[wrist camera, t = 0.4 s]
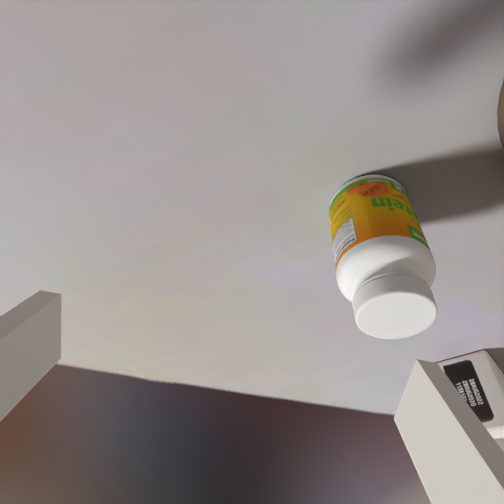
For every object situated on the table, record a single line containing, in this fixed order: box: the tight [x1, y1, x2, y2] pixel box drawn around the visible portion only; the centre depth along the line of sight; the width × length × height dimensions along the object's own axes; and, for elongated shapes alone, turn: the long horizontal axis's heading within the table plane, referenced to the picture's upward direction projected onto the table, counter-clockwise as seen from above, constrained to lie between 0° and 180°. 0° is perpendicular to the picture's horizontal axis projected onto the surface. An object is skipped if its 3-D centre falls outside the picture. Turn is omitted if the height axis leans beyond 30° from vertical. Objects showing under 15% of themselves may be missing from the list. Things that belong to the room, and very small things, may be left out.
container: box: [437, 350, 504, 452], centre depth 35 cm, size 8×8×13 cm
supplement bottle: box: [329, 175, 437, 339], centre depth 21 cm, size 5×5×10 cm
